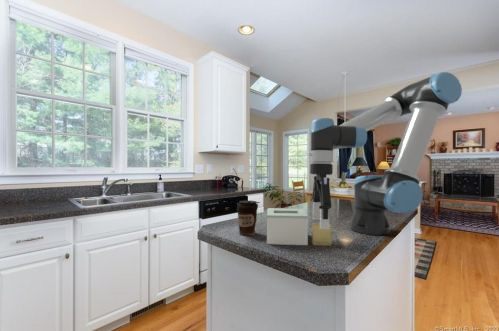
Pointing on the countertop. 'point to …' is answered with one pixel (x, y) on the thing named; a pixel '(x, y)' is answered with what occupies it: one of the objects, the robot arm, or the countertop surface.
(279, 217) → the coin box
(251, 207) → the coffee cup
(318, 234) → the pale yellow block
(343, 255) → the countertop surface
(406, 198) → the robot arm
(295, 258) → the countertop surface
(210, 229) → the countertop surface
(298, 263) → the countertop surface
